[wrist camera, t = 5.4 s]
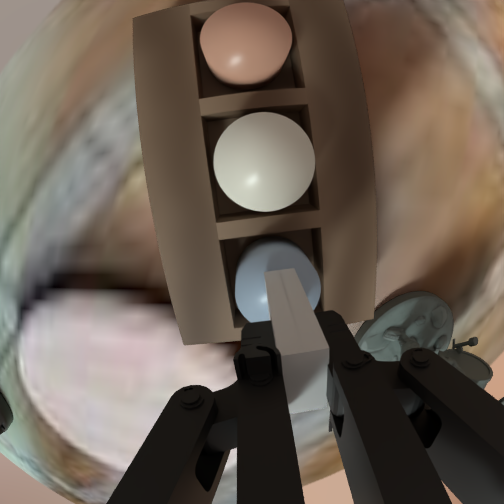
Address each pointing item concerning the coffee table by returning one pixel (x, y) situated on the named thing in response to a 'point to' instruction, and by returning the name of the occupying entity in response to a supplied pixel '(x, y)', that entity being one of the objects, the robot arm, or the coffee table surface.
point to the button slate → (270, 259)
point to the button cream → (264, 161)
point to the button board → (203, 175)
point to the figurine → (420, 334)
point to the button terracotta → (245, 44)
